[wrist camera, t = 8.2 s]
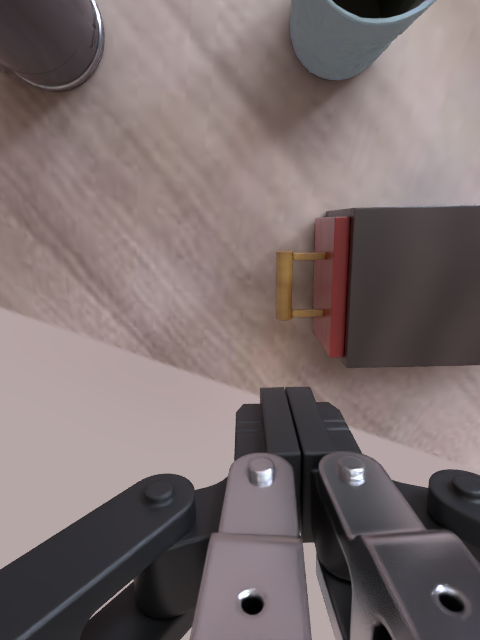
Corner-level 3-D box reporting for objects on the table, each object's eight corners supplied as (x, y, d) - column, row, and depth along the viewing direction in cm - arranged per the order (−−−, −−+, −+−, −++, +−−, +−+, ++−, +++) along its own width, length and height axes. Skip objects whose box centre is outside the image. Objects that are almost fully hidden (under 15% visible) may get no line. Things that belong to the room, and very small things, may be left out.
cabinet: (321, 334, 41) (346, 368, 31) (326, 211, 37) (354, 207, 28) (460, 331, 41) (525, 364, 31) (475, 208, 37) (553, 203, 28)
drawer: (271, 332, 40) (279, 358, 32) (271, 218, 37) (279, 218, 29) (443, 329, 40) (491, 354, 32) (456, 214, 37) (512, 212, 29)
